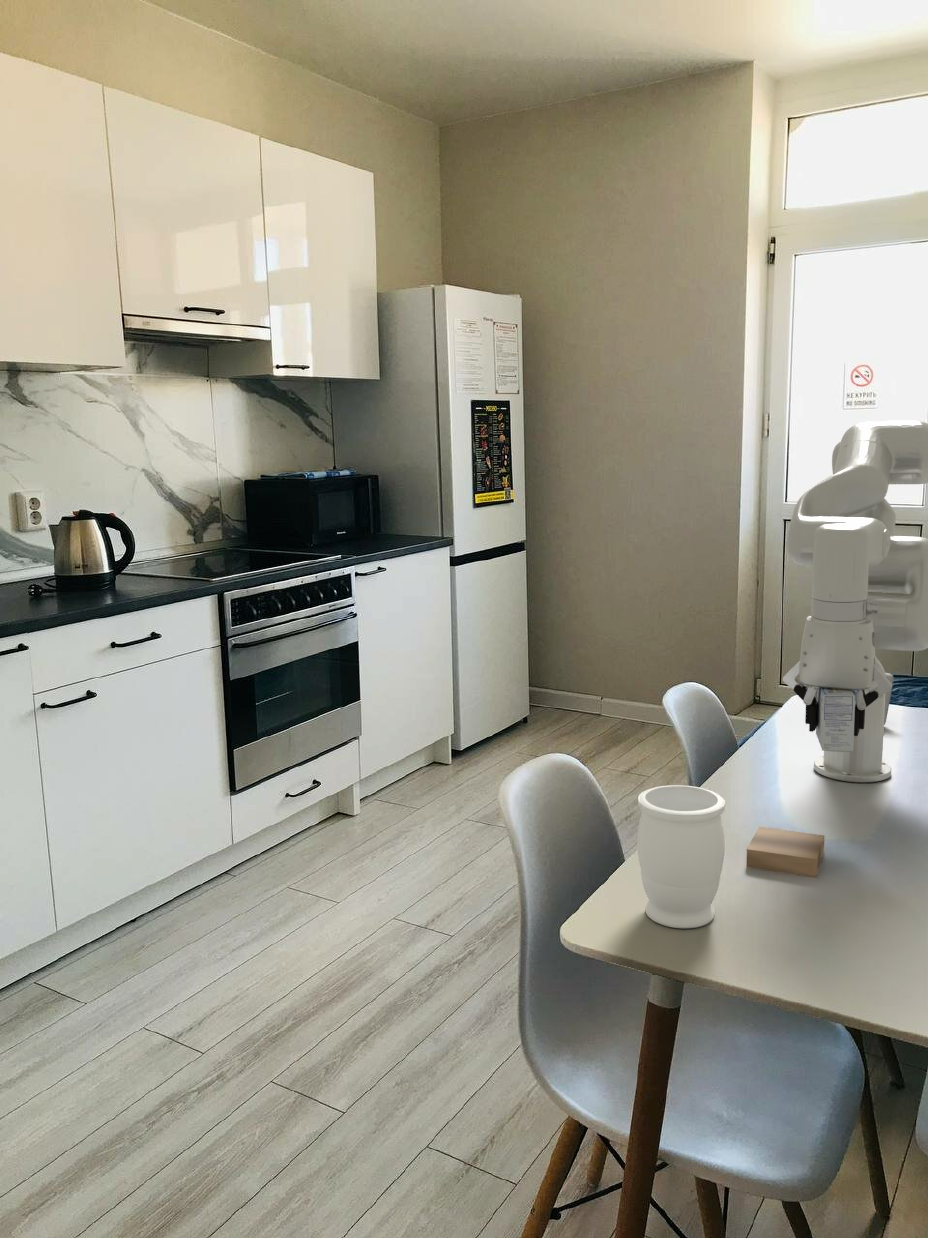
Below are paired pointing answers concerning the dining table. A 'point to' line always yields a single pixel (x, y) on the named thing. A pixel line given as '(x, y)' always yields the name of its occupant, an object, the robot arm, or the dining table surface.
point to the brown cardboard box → (786, 851)
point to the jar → (680, 853)
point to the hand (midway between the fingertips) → (834, 729)
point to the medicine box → (835, 719)
